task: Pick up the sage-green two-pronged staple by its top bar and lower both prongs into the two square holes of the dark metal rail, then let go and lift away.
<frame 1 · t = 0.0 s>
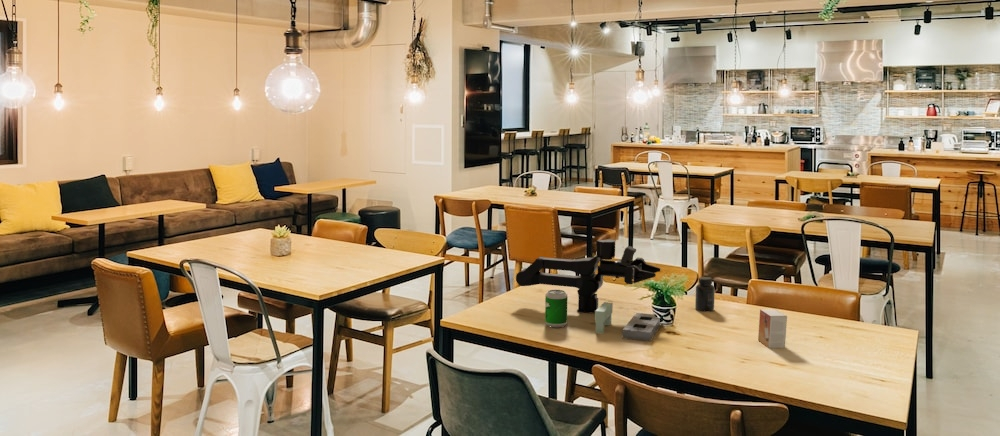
hand: (657, 272, 275), 17 cm above the table, tool horizontal, fingers open, 9 cm apart
rail: (642, 330, 261), on the table
supplement bottle: (704, 310, 289), on the table
small box: (771, 344, 247), on the table
staple: (603, 328, 264), on the table
soda can: (556, 326, 267), on the table
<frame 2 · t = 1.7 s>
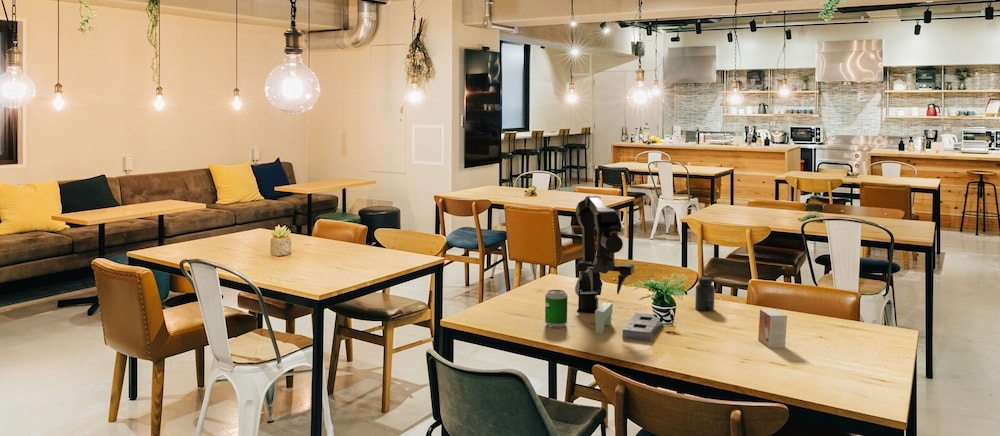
hand: (604, 292, 262), 12 cm above the table, tool pointing down, fingers open, 9 cm apart
nothing on the table moved.
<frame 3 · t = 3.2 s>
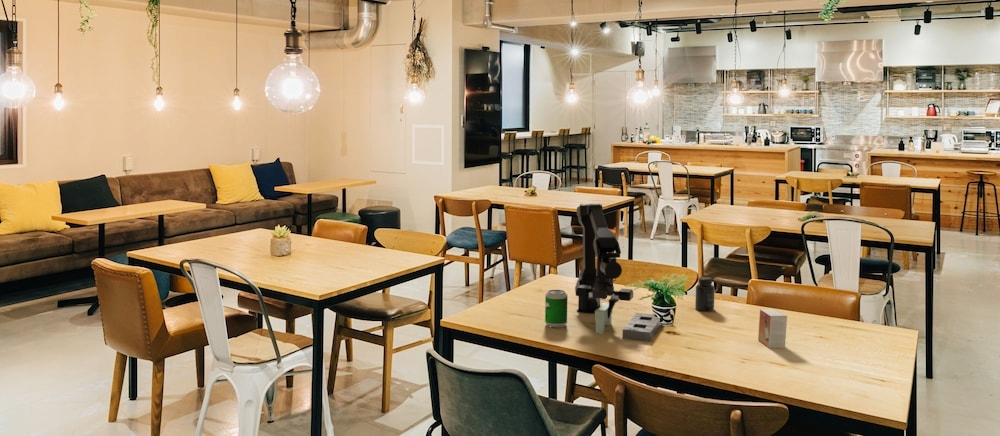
hand: (603, 317, 263), 4 cm above the table, tool pointing down, fingers closed on staple, 3 cm apart
staple: (603, 328, 264), on the table, touching gripper
everything else where it was.
when the fingers open (5 cm above the table, at t = 7.5 s): staple drops 1 cm, on the table.
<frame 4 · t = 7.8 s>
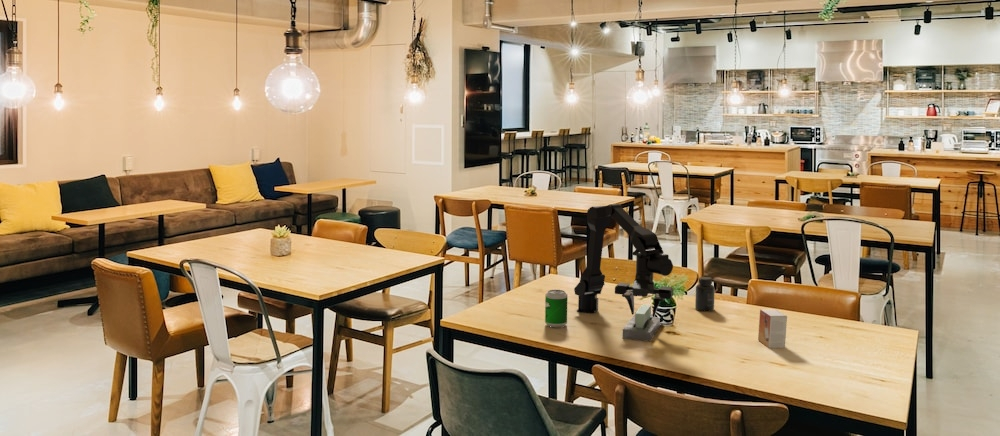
hand: (643, 315, 260), 5 cm above the table, tool pointing down, fingers open, 7 cm apart
staple: (642, 330, 261), on the table
everything else where it was.
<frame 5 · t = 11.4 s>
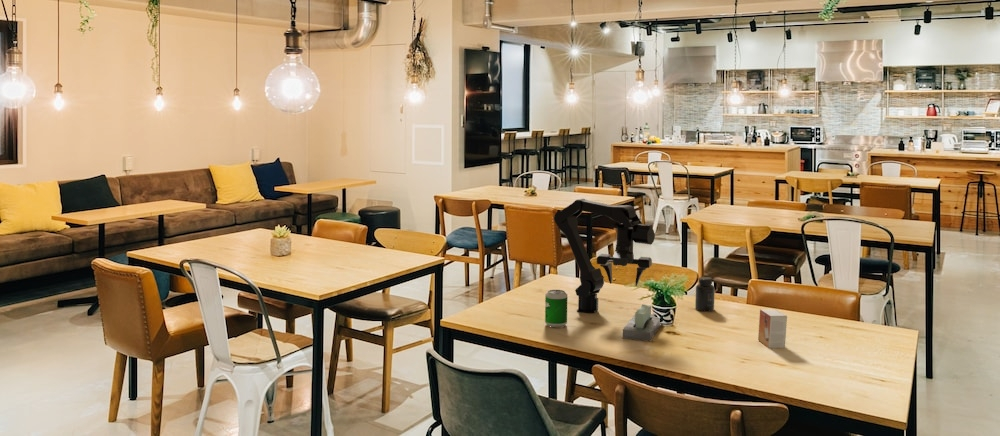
hand: (623, 284, 276), 12 cm above the table, tool pointing down, fingers open, 9 cm apart
nothing on the table moved.
at the end: staple 0.1 cm off-centre on the rail, point 0.0 cm above the rail's base; staple tilted 0°; the gripper is holding nothing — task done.
